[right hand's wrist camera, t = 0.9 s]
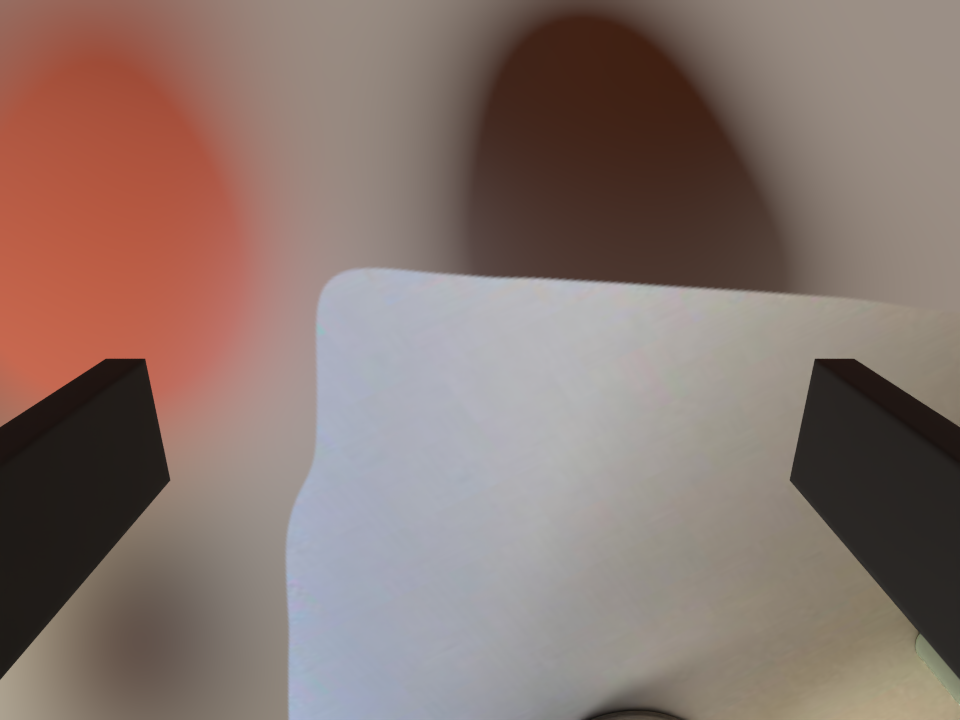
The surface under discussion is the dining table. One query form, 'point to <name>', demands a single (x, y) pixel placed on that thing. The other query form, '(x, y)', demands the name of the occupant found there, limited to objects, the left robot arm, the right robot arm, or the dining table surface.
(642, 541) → the dining table surface
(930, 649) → the pale green cylinder
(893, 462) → the right robot arm
